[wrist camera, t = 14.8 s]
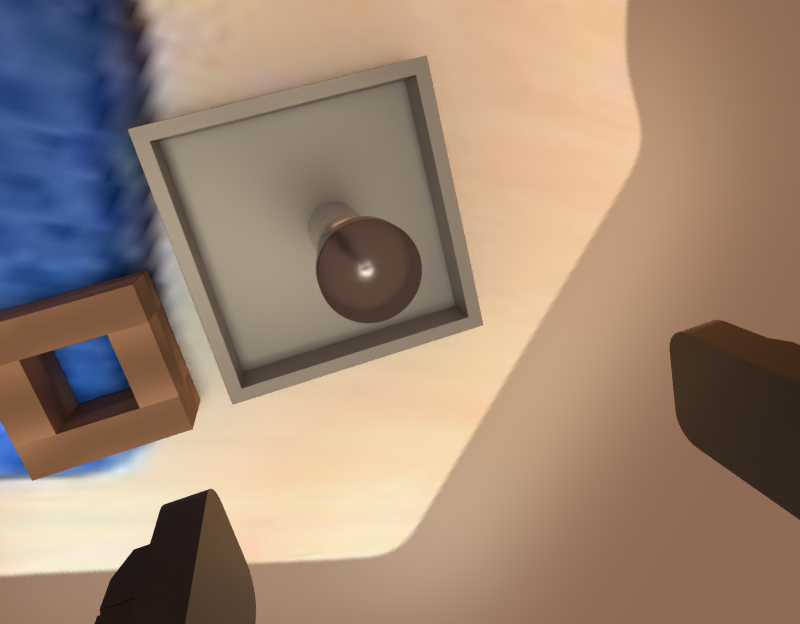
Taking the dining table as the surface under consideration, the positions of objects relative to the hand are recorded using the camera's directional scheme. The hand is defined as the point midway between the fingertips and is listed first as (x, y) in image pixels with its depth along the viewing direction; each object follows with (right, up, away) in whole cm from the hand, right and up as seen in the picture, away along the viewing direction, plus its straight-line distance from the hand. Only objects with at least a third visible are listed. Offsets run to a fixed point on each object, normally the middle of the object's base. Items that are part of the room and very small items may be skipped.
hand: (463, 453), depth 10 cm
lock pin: (-5, +7, +26) cm, 27 cm away
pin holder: (-19, -1, +25) cm, 32 cm away
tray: (-6, +7, +26) cm, 28 cm away
